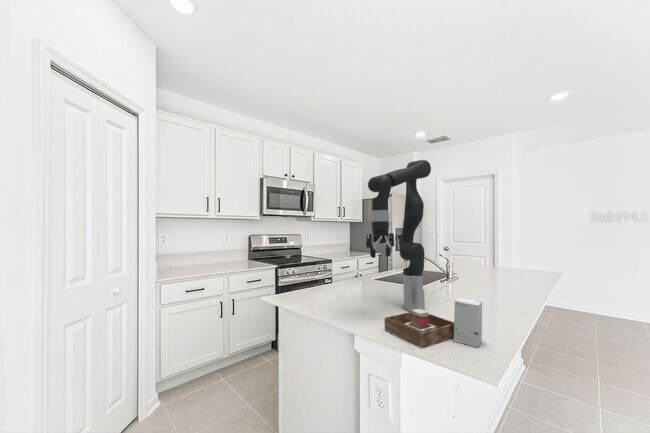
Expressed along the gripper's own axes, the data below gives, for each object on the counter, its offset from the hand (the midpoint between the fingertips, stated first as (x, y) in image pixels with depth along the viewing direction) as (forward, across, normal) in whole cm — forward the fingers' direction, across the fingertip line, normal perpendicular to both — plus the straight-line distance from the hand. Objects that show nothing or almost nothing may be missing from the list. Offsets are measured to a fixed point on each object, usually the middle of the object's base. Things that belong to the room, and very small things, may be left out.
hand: (380, 256), depth 125 cm
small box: (+28, -3, +19) cm, 34 cm away
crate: (+28, -3, +19) cm, 34 cm away
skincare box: (+28, -11, +34) cm, 45 cm away
